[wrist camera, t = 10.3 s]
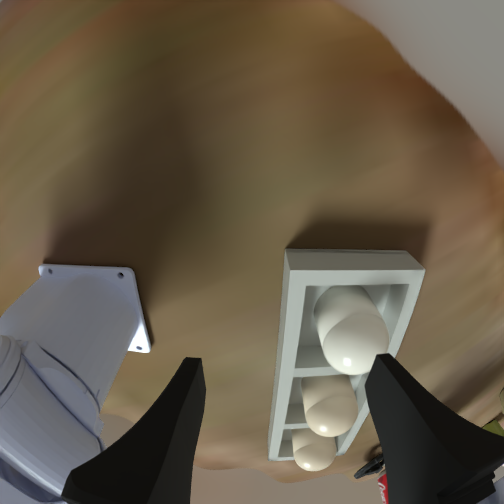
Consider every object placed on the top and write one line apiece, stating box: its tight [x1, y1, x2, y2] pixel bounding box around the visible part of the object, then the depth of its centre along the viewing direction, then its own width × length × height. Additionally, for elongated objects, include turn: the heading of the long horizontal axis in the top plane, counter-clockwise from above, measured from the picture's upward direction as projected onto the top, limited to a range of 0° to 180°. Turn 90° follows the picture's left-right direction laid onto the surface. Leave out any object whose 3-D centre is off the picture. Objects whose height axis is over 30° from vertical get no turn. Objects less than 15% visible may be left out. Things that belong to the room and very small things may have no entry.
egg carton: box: [268, 249, 425, 471], centre depth 21 cm, size 9×25×6 cm, turn 179°
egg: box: [313, 285, 390, 375], centre depth 17 cm, size 4×4×6 cm
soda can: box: [378, 470, 388, 504], centre depth 32 cm, size 7×7×13 cm
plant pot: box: [483, 420, 504, 436], centre depth 31 cm, size 9×9×9 cm
